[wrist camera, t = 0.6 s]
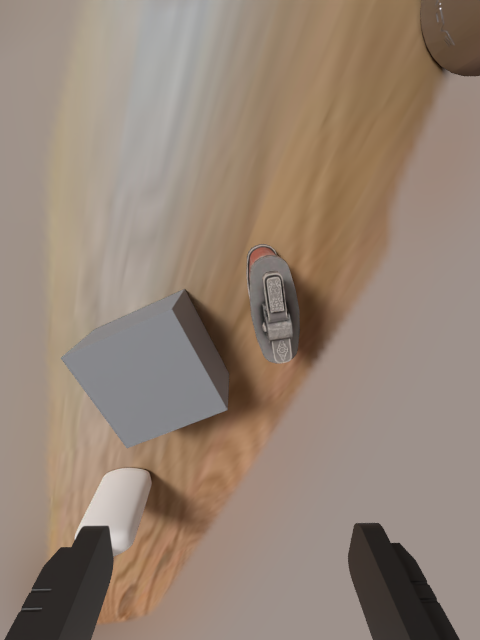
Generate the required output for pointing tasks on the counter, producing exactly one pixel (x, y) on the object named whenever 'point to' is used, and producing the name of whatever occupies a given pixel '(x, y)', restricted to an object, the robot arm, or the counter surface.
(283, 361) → the lighter
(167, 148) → the counter surface
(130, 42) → the counter surface
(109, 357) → the pedestal block
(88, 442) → the counter surface
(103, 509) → the eye dropper bottle
